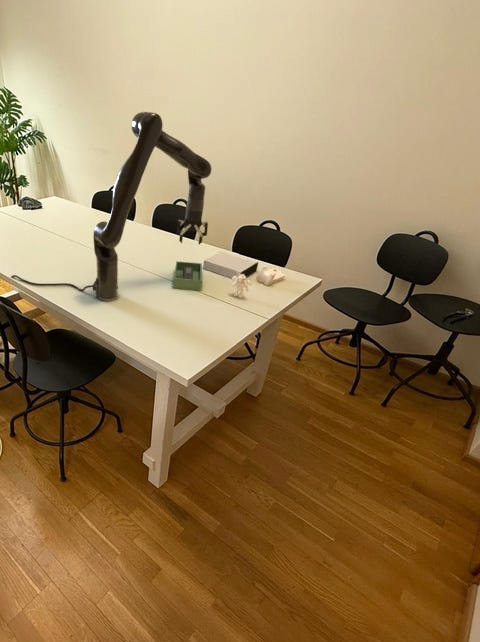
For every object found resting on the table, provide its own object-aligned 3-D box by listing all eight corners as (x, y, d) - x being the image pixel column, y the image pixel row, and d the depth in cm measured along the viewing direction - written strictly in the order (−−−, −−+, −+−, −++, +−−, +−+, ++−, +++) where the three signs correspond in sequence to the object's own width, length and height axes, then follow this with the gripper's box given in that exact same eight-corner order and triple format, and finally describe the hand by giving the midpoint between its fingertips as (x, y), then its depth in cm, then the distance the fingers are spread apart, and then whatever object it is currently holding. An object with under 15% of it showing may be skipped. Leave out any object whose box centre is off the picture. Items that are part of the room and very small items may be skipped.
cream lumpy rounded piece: (265, 286, 183) (272, 274, 178) (255, 278, 187) (262, 266, 181) (282, 281, 189) (289, 269, 184) (272, 272, 193) (279, 261, 187)
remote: (182, 285, 179) (183, 279, 177) (183, 272, 192) (184, 265, 190) (192, 286, 178) (192, 279, 176) (192, 272, 191) (193, 266, 189)
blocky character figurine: (227, 294, 173) (232, 271, 166) (231, 291, 176) (235, 268, 169) (245, 300, 169) (251, 276, 162) (249, 297, 171) (254, 273, 164)
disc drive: (240, 281, 185) (242, 272, 182) (202, 268, 197) (203, 259, 195) (256, 271, 196) (258, 262, 193) (219, 259, 208) (221, 251, 205)
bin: (173, 288, 178) (174, 278, 175) (175, 270, 195) (176, 261, 192) (200, 290, 176) (202, 280, 173) (200, 272, 193) (201, 263, 190)
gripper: (210, 207, 169) (205, 241, 178) (179, 205, 170) (175, 239, 180) (210, 211, 163) (205, 247, 172) (178, 209, 164) (174, 244, 174)
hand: (190, 243), depth 176 cm, fingers open, 8 cm apart
